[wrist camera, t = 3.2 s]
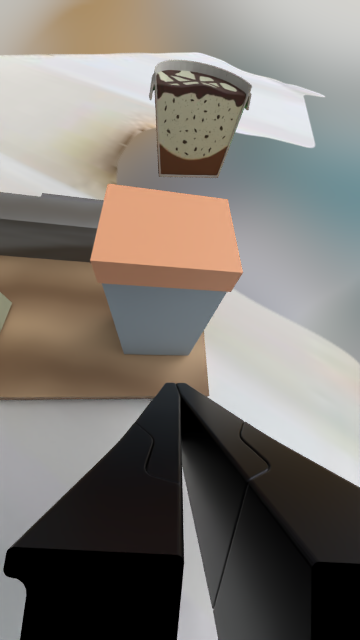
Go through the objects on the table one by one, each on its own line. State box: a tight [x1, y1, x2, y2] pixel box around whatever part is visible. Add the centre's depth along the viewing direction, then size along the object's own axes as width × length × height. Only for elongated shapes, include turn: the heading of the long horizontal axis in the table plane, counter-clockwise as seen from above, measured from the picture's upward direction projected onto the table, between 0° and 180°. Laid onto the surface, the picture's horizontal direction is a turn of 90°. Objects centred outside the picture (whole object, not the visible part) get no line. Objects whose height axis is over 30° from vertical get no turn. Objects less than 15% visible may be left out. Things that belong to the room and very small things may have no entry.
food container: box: [149, 60, 252, 178], centre depth 28 cm, size 12×6×10 cm, turn 103°
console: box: [0, 192, 209, 400], centre depth 16 cm, size 15×22×6 cm
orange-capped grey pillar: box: [90, 184, 243, 356], centre depth 12 cm, size 4×5×10 cm
